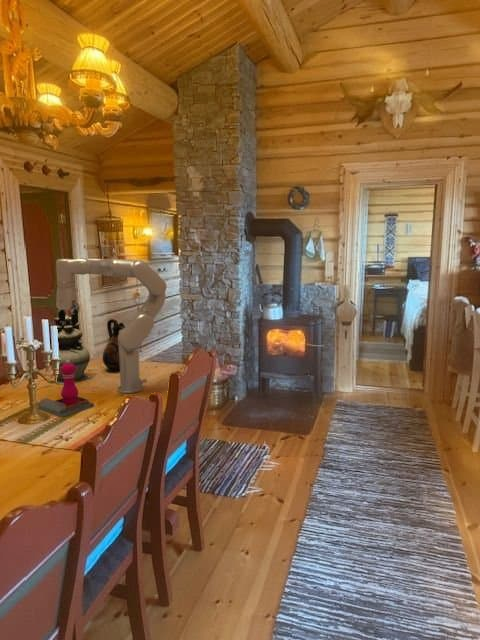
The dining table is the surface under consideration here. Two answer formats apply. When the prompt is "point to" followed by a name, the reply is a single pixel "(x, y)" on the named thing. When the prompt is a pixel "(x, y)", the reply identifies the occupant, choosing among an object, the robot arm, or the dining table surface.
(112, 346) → the ceramic jug
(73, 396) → the pepper mill
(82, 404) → the dark slab
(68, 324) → the decorative urn
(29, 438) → the dining table surface
